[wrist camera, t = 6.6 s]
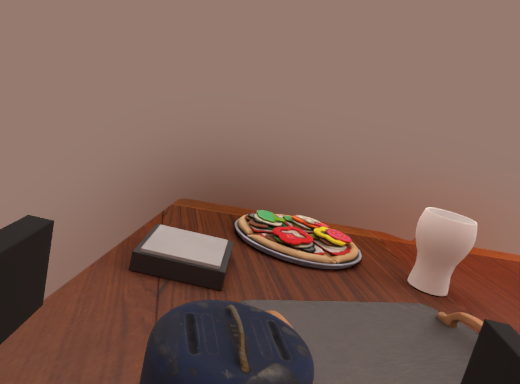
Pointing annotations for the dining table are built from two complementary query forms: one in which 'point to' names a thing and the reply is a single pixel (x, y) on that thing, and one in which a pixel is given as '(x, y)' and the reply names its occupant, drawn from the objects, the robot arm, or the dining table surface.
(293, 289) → the dining table surface
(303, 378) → the canister
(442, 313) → the serving tray
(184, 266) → the scale
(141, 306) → the dining table surface
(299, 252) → the toy pizza
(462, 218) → the cup
